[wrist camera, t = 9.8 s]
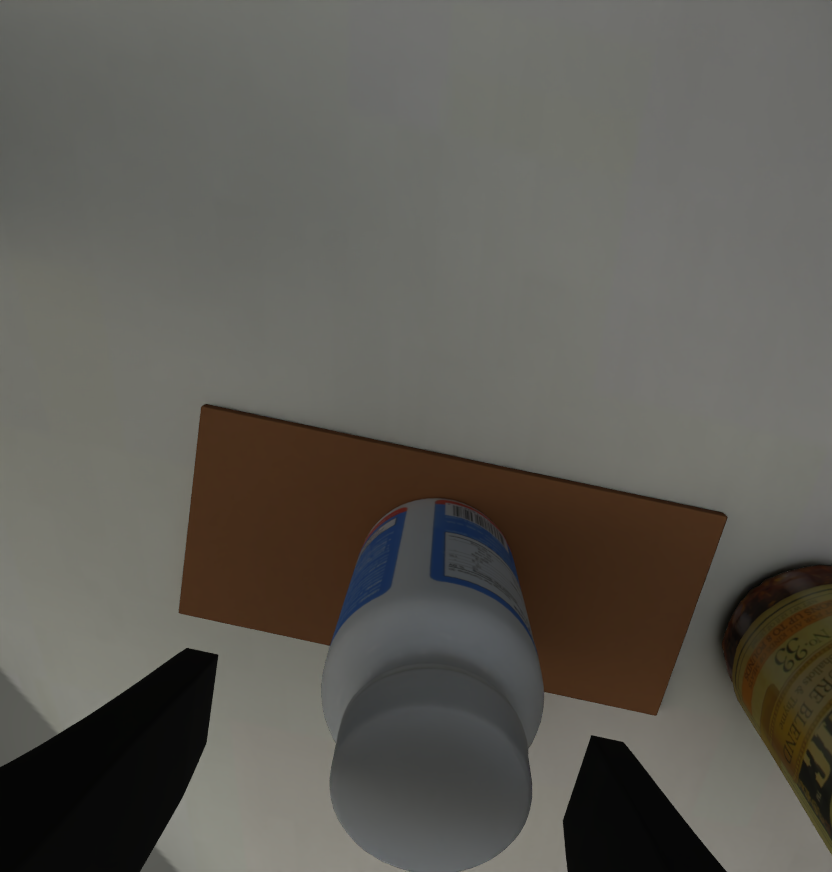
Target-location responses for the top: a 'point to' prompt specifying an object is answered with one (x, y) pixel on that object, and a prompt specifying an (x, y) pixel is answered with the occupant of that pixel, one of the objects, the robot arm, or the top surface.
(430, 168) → the top surface
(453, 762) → the pill bottle
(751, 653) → the sauce bottle
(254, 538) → the mat
